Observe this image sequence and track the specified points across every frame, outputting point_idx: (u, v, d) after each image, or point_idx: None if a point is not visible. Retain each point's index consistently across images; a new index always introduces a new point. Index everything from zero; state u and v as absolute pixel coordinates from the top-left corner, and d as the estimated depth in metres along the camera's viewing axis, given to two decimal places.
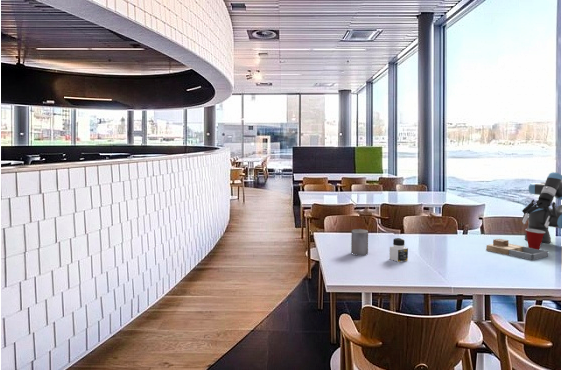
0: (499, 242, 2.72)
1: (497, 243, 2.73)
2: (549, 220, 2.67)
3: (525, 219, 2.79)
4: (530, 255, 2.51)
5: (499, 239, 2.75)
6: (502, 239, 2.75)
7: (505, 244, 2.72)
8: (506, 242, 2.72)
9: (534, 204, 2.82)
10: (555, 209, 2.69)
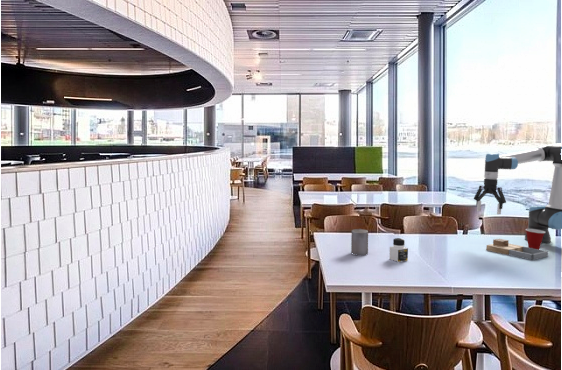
0: (499, 242, 2.72)
1: (497, 243, 2.73)
2: (500, 208, 2.73)
3: (479, 207, 2.86)
4: (530, 255, 2.51)
5: (499, 239, 2.75)
6: (502, 239, 2.75)
7: (505, 244, 2.72)
8: (506, 242, 2.72)
9: (482, 188, 2.85)
10: (502, 194, 2.73)
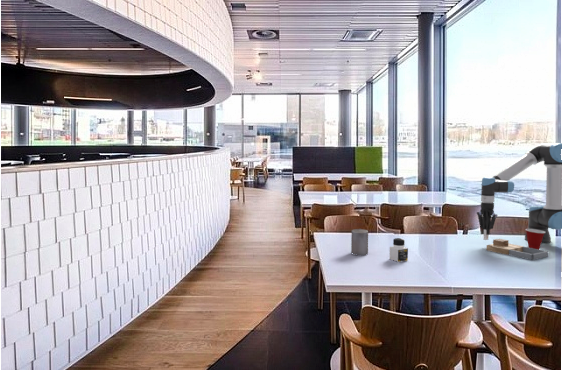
0: (499, 242, 2.72)
1: (497, 243, 2.73)
2: (487, 233, 2.81)
3: None
4: (530, 255, 2.51)
5: (499, 239, 2.75)
6: (502, 239, 2.75)
7: (505, 244, 2.72)
8: (506, 242, 2.72)
9: (481, 214, 2.86)
10: (493, 221, 2.77)
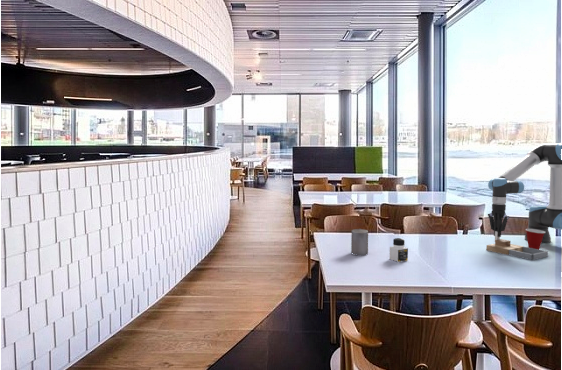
0: (501, 242, 2.70)
1: (499, 243, 2.72)
2: (498, 235, 2.74)
3: None
4: (530, 255, 2.51)
5: (501, 239, 2.74)
6: None
7: (507, 244, 2.70)
8: (508, 242, 2.71)
9: None
10: (505, 223, 2.71)
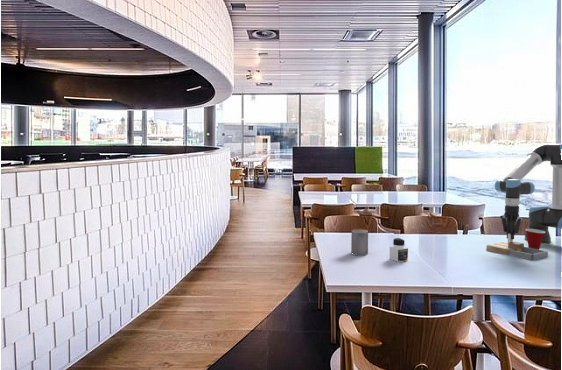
0: (514, 245, 2.63)
1: (512, 246, 2.64)
2: (511, 238, 2.67)
3: None
4: (530, 255, 2.51)
5: (514, 242, 2.67)
6: (517, 242, 2.67)
7: (521, 247, 2.63)
8: (522, 245, 2.64)
9: None
10: (518, 225, 2.64)
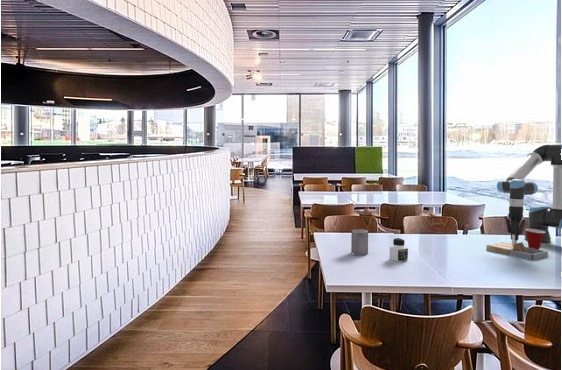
0: (518, 250, 2.61)
1: (516, 249, 2.62)
2: (516, 239, 2.65)
3: None
4: (530, 255, 2.51)
5: (521, 245, 2.64)
6: (524, 246, 2.64)
7: None
8: (524, 252, 2.63)
9: None
10: (523, 226, 2.62)
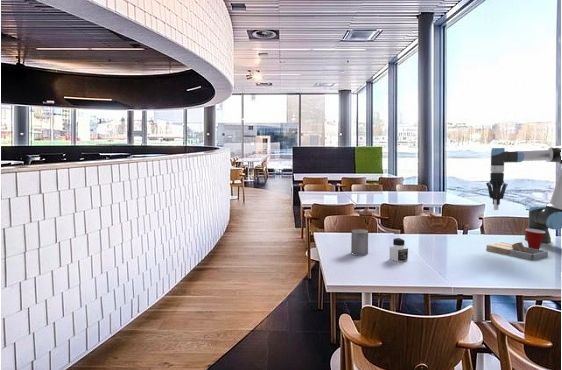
0: (518, 250, 2.62)
1: (515, 248, 2.63)
2: (497, 203, 2.81)
3: None
4: (530, 255, 2.51)
5: (520, 244, 2.64)
6: (523, 246, 2.64)
7: None
8: None
9: (490, 184, 2.86)
10: (503, 191, 2.78)
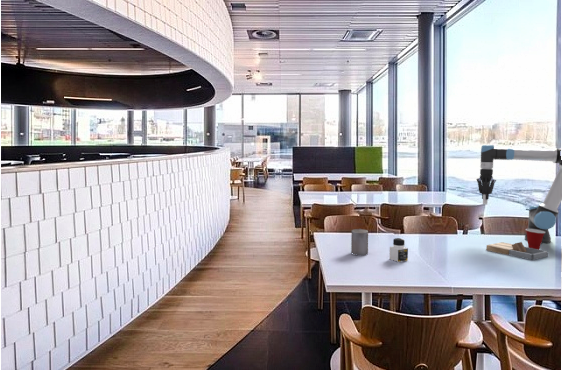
0: (517, 250, 2.62)
1: (515, 248, 2.63)
2: (486, 198, 2.96)
3: None
4: (530, 255, 2.51)
5: (520, 244, 2.64)
6: (523, 246, 2.64)
7: None
8: None
9: (480, 180, 3.00)
10: (492, 186, 2.92)
